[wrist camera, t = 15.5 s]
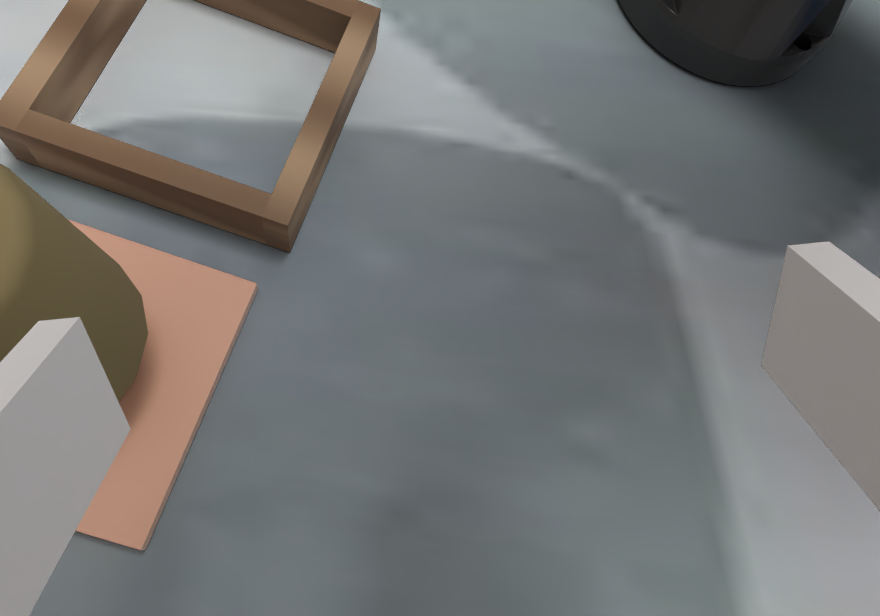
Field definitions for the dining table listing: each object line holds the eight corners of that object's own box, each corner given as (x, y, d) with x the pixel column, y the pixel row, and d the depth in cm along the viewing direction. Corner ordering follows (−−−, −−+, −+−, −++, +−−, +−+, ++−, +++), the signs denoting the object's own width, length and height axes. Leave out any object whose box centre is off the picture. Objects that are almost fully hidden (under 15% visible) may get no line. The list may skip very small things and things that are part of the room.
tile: (5, 204, 29) (-2, 195, 28) (258, 289, 30) (256, 283, 29) (-155, 459, 25) (-170, 457, 24) (146, 549, 26) (140, 550, 25)
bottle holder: (143, -38, 35) (128, -87, 32) (375, 49, 36) (380, 8, 33) (16, 158, 30) (-14, 120, 27) (289, 252, 31) (287, 225, 28)
